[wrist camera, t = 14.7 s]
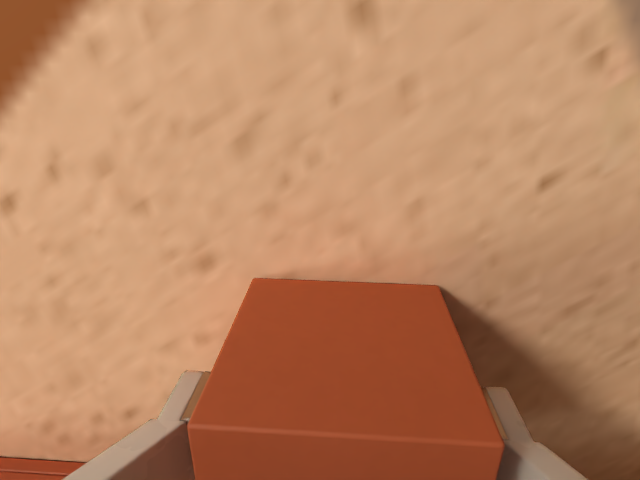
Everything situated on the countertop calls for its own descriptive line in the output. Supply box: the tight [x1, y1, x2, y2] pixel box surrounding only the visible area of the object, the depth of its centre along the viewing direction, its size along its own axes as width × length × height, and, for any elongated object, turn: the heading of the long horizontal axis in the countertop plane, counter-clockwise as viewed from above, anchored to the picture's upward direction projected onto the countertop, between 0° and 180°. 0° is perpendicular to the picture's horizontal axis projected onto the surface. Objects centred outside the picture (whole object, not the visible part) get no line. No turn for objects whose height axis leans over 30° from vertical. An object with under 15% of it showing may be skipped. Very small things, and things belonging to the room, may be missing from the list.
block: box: [187, 278, 505, 480], centre depth 10 cm, size 5×5×5 cm
